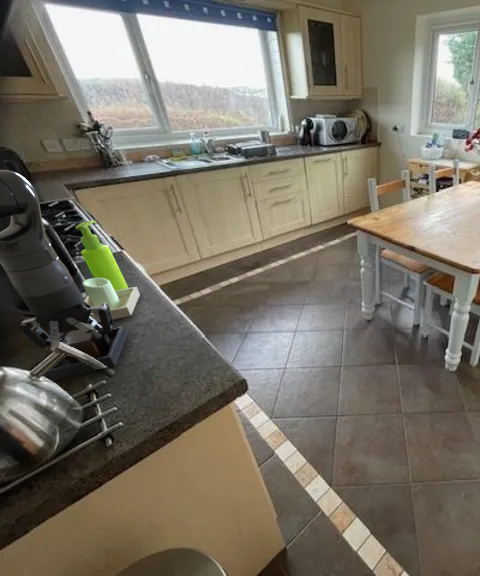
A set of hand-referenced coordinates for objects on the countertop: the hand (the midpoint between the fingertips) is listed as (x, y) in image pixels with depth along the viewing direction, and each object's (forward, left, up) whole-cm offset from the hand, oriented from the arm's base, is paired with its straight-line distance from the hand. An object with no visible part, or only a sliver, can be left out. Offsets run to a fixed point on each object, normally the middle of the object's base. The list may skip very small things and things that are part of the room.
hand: (89, 353), depth 69 cm
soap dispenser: (-2, +31, -1) cm, 31 cm away
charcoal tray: (0, 0, -1) cm, 1 cm away
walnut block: (0, 0, 0) cm, 0 cm away
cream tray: (-1, +20, -1) cm, 20 cm away
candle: (-1, +20, -1) cm, 20 cm away
